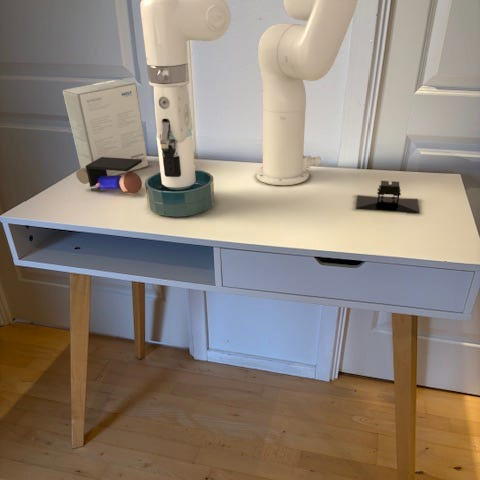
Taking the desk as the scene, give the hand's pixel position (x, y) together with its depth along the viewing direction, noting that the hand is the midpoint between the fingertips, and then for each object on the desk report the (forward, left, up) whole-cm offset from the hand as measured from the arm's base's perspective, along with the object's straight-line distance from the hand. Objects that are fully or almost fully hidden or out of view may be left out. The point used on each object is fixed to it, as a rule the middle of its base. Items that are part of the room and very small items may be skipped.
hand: (177, 169), depth 101 cm
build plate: (-39, +19, -8) cm, 44 cm away
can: (0, 0, -3) cm, 3 cm away
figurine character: (+12, -15, -8) cm, 21 cm away
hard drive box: (+9, -29, -8) cm, 32 cm away
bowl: (0, 0, -8) cm, 8 cm away
